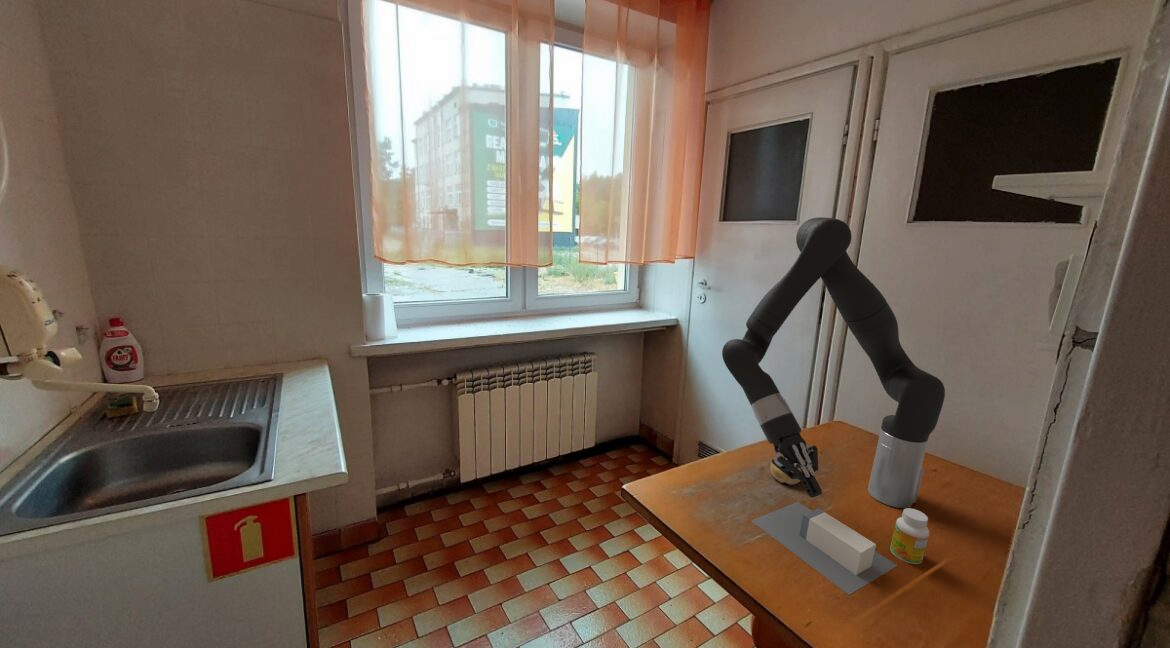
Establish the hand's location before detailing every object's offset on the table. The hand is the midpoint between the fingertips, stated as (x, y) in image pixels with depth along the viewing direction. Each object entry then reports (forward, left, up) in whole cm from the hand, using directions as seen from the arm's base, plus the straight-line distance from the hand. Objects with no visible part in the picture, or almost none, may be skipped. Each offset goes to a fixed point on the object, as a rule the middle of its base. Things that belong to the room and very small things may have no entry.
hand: (816, 495), depth 91 cm
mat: (-1, +2, -10) cm, 10 cm away
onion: (-8, -20, -10) cm, 24 cm away
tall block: (0, -1, -7) cm, 7 cm away
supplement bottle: (-16, +8, -10) cm, 20 cm away
